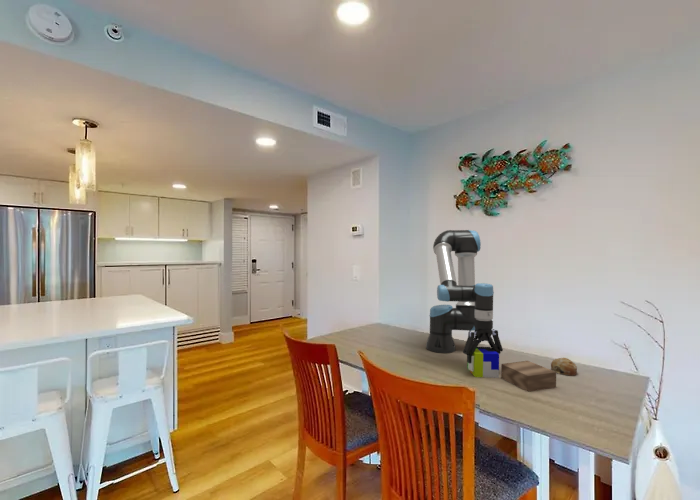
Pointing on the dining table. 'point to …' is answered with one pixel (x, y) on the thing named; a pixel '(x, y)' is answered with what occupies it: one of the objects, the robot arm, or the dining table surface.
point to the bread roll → (564, 366)
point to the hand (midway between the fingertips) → (482, 368)
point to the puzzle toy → (485, 362)
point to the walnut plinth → (528, 375)
